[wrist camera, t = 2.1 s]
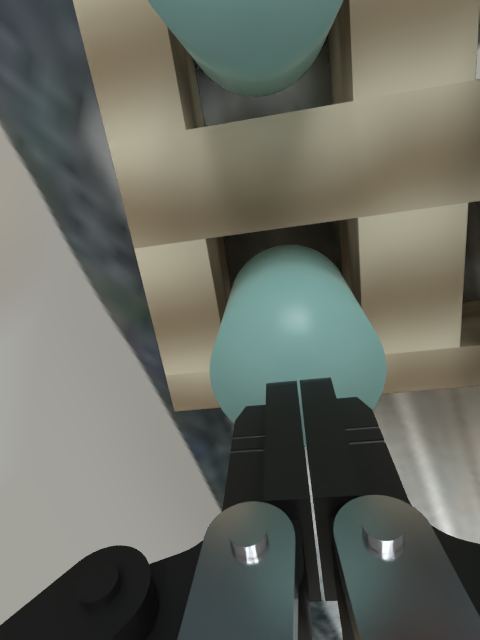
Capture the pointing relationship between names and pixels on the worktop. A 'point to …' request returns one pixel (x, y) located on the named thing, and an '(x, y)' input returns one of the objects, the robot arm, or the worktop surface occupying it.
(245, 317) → the button
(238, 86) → the button
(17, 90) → the worktop surface
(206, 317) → the console
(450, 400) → the worktop surface
